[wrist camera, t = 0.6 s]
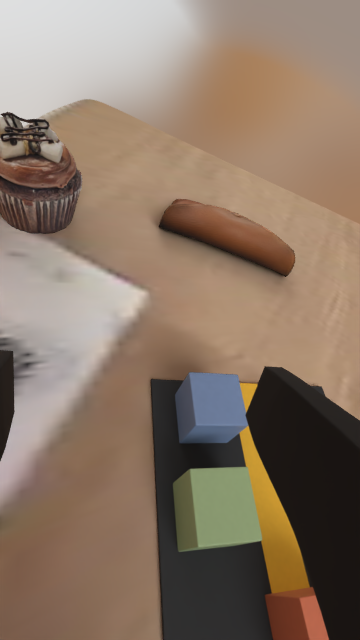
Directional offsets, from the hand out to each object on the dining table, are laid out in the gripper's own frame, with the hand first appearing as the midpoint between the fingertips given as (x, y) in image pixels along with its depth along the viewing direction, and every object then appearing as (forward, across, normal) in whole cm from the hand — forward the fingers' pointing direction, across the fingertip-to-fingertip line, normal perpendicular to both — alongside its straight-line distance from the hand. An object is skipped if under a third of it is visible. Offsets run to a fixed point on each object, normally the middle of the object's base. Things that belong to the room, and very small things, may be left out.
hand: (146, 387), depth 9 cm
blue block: (+12, -8, +13) cm, 20 cm away
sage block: (+6, -7, +16) cm, 19 cm away
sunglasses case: (+36, -15, +3) cm, 39 cm away
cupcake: (+34, +9, +4) cm, 36 cm away
